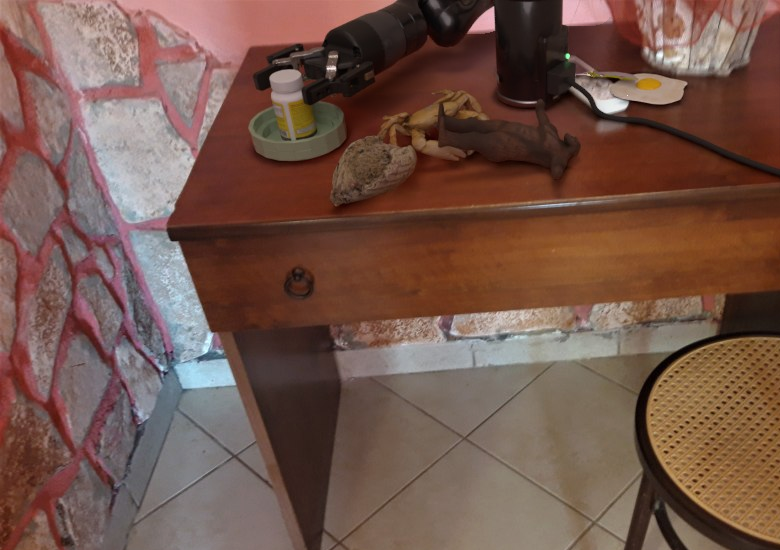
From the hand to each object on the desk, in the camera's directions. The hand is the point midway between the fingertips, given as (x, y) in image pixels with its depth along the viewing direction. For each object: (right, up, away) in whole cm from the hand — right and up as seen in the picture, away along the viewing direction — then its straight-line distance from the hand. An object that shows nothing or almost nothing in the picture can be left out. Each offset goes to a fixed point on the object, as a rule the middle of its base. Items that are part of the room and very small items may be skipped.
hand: (279, 90), depth 96 cm
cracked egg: (+49, +6, +15) cm, 52 cm away
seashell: (+9, -12, -2) cm, 15 cm away
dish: (+1, -5, +6) cm, 8 cm away
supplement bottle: (+1, -4, +6) cm, 8 cm away
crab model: (+17, -5, +8) cm, 20 cm away
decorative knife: (+44, +10, +19) cm, 49 cm away
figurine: (+20, -6, -4) cm, 21 cm away
